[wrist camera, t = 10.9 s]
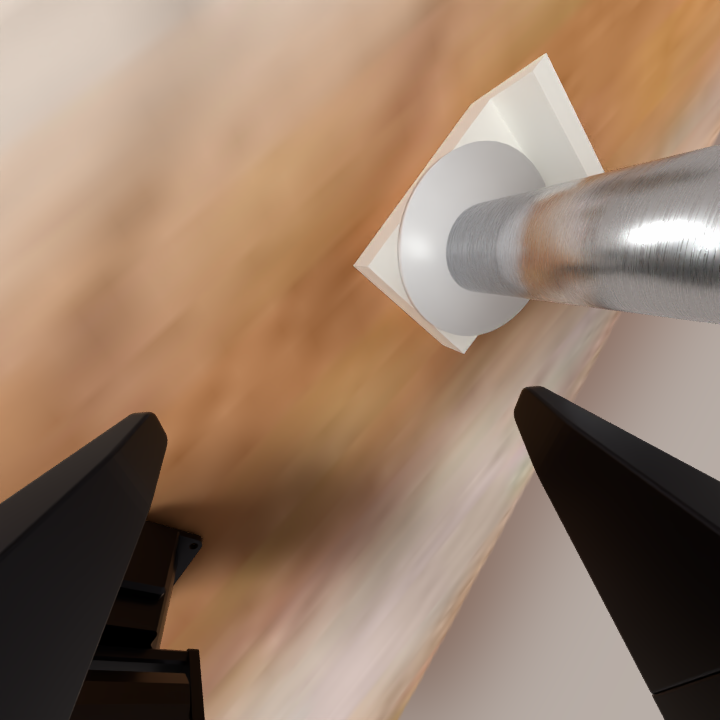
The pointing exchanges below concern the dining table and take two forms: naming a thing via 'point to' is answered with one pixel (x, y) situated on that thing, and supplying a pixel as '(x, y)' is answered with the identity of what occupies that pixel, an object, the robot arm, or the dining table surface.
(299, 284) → the dining table surface
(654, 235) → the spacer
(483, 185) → the scale
